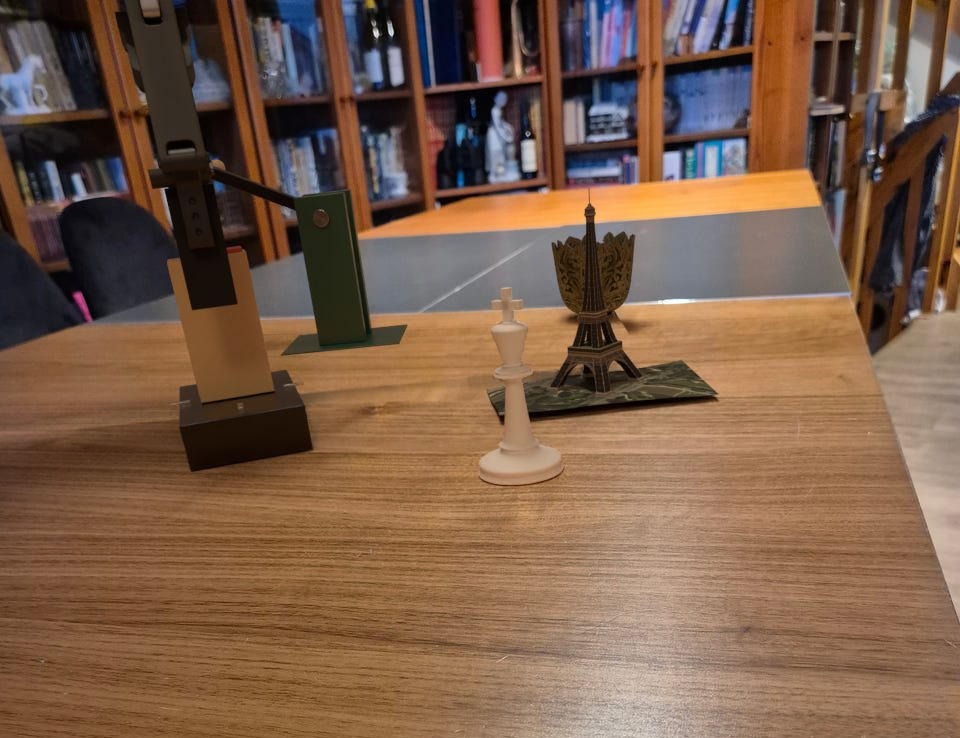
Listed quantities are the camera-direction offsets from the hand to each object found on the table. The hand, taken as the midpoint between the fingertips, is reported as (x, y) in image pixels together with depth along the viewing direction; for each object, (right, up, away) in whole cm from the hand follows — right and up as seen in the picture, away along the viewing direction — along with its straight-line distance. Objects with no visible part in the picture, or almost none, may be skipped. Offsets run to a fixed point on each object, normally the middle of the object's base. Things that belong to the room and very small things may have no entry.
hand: (211, 292), depth 61 cm
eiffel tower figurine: (+26, -6, +5) cm, 27 cm away
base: (+1, -9, +4) cm, 10 cm away
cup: (+29, +6, +25) cm, 39 cm away
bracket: (+5, +5, +28) cm, 29 cm away
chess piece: (+20, -13, -8) cm, 25 cm away
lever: (-1, +16, +22) cm, 27 cm away
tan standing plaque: (+1, -6, +3) cm, 7 cm away
